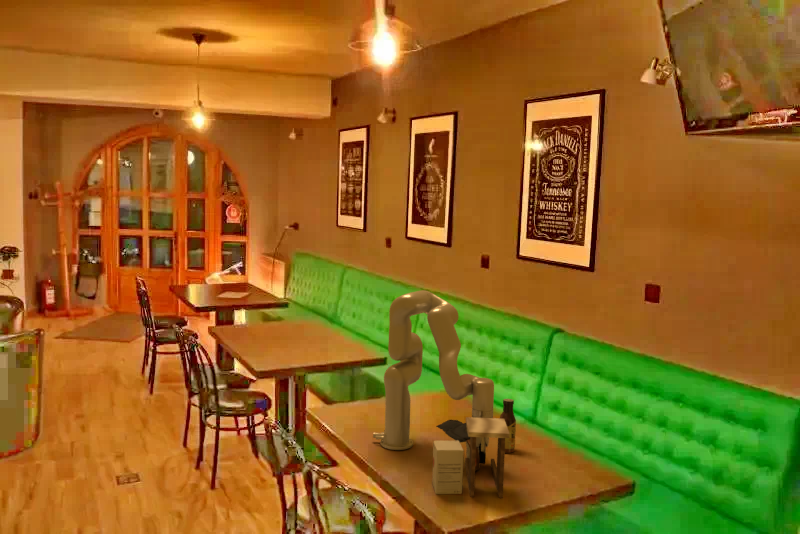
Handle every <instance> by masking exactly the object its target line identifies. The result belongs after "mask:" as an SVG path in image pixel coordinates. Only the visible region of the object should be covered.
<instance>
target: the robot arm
mask: <svg viewBox="0 0 800 534" xmlns="http://www.w3.org/2000/svg"><path fill="white" fill-rule="evenodd" d="M388 311H389V312H388V313H389V315H388V317H389V326H388V327H389V328H388V355H389V357H390V358H391V359H392V360H393V361H397V363H394V364H392V365H390V366H389V367H388V368H387V369H386V370H385V372H384V375H383V384H384V391H385V411H384V414H385V415H384V430H383V431H381V432H372V438H375V440H380V446H381V447H383V448H385V449H388V450H392V451H394V450H395V451H405V450H407V449H411V448H412V447H413V446H414V440H413V439H411V438H410V430H411V427H410V425H411V394H410V389H409V386H410V385H412V384H414V383H416V382H417V381H419V380H420V378H421V376H422V373H423V355H424V354H423V352H424V351H423V349H424V348H423V342H422V339H421V336H419V334H417V333H415V332H412V329H413V327H412V326H413V325H412V320H411V317H412V316H415V315H420V314H423V313H424V314H426V315H427V318H426V319H427V320H426V321H427V323H428V324H427V325H428V326H429V330H430V332H431V334H432V336H433V340H434V342H435V345H436V348H437V352H438V371H439V377H440V379H441V383H442V386H443V388H444V390H445V392H446V394H447V395H448V396H449V398H451V399H452V400H455V401H461V400H463V399H464V398H467V397H468V396H471V397H472V398H471V399H472V403H471V405H472V406H471V408H472V409H471V417H473V418H494V402H495V401H494V399H495V396H494V395H495V394H494V393H495V392H494V391H495V382H494V381H493V379H490V378H487V377H479V376H475V375H474V374H469V373H463V374H460V371H459V368H458V359H459V358H458V357H459V354H460V351H461V348H462V347H461V346H462V343H461V340H460V338H459V335H458V333H457V330H456V328H455V325H456V324H457V322H458V321H459V313H458V310H457V308H456V307H455V306H454V305H452V304H451V303H450V302H448V301H446V300H445V299H443V298H441V297H439V296H438V295H436V294H434V293H433V292H431V291H428V290H425V289H424V290H422V289H421V290H417V291H411V292H407V293H404V294H402V295H400V296H397V297H396V298H395V299H393V300H392V302H391V304H390V306H389V310H388ZM489 443H490V437H476V447H477V448H478V452H479V462H480V465H481V464H482V465H483V464H484V465H485V464H486V462H487V461H486V459H487V458H486V456H487V455H486V454H487V452H486V448H488V447H489Z"/></svg>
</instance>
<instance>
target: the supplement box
mask: <svg viewBox="0 0 800 534" xmlns="http://www.w3.org/2000/svg"><path fill="white" fill-rule="evenodd" d="M464 452H465V451H464V448H463V446H462V444H461V442H459V441H456V440H433V449H432V475H431V476H432V480H431V481H432V482H431V483H432V486H433V490H434V493H435V495H455V494H456V495H458V494H459V495H462V494H463V477H464V476H463V474H464V472H463V471H464Z"/></svg>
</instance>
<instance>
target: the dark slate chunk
mask: <svg viewBox="0 0 800 534" xmlns="http://www.w3.org/2000/svg"><path fill="white" fill-rule="evenodd" d="M436 428H438V429H440V430H442V431H443V432H444V434H446V435H447V436H448V437H450V438H451V439H453V441H459V442H460V443H466V440H470V437H469V436H468V431H467V426H466V422H464V423H463V422H462V421H460V420H458V419H448V420H446V421H443V422H441V424H438V425H436Z"/></svg>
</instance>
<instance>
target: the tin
mask: <svg viewBox="0 0 800 534" xmlns="http://www.w3.org/2000/svg"><path fill="white" fill-rule="evenodd" d="M465 448H466V449H465V454H466V458H470V440H466V442H465ZM480 465H481V464H480V462H479V452H478V448H477V447H476V460H475V471H480Z"/></svg>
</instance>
